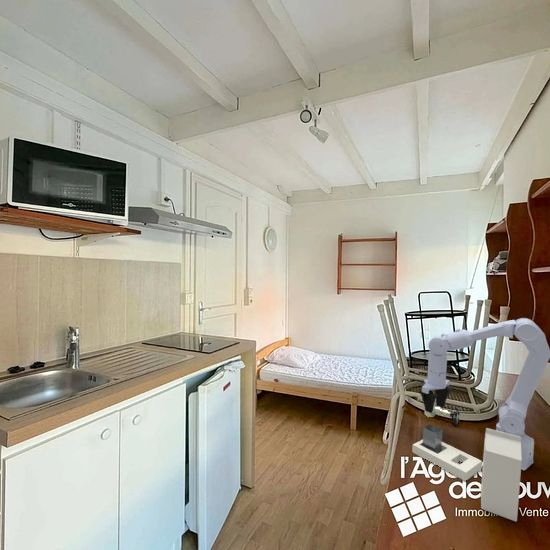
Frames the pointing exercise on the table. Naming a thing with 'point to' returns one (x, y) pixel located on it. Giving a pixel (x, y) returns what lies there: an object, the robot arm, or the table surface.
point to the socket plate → (450, 460)
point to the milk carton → (501, 474)
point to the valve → (438, 410)
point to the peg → (432, 438)
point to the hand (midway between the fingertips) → (434, 409)
